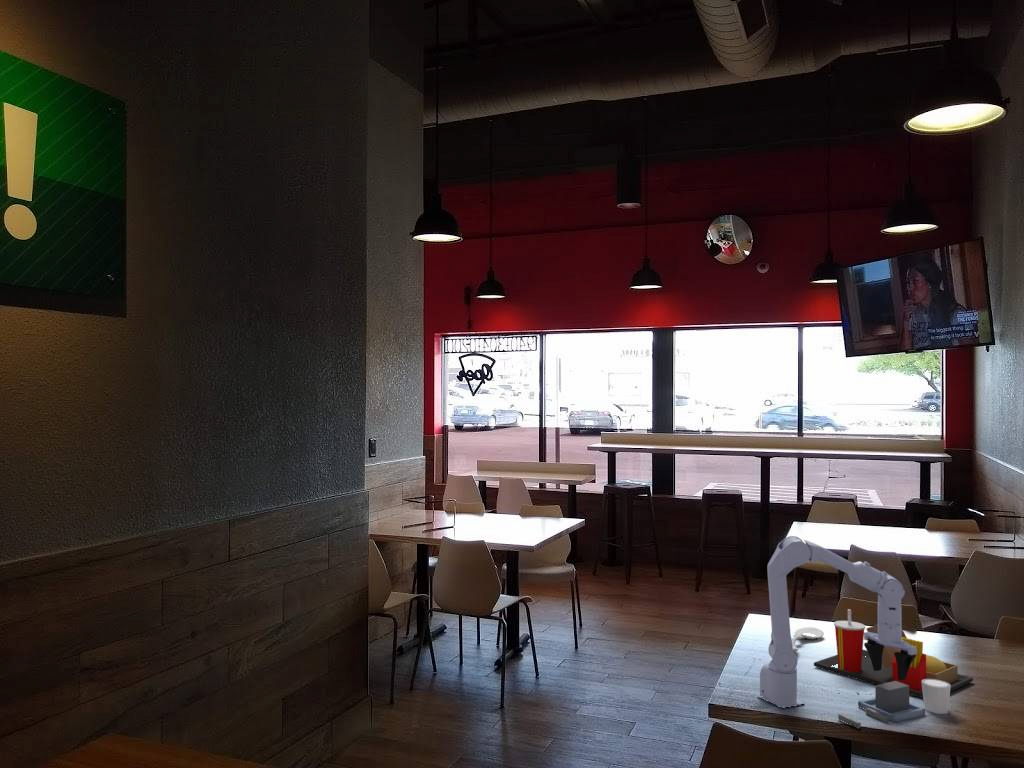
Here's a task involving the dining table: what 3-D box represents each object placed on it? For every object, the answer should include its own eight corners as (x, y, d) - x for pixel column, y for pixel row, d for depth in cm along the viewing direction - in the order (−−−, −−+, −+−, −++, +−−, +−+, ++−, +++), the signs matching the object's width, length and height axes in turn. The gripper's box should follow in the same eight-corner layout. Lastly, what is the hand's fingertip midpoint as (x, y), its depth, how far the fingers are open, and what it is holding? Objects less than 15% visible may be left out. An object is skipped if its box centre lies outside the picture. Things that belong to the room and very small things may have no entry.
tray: (858, 707, 207) (858, 701, 207) (889, 700, 212) (889, 695, 212) (893, 722, 197) (893, 716, 197) (925, 714, 202) (925, 709, 202)
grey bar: (875, 708, 205) (875, 685, 205) (895, 703, 208) (895, 680, 209) (889, 713, 201) (888, 690, 201) (909, 708, 205) (909, 685, 205)
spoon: (768, 653, 253) (768, 642, 253) (801, 632, 278) (801, 622, 278) (795, 659, 248) (795, 648, 248) (827, 637, 273) (827, 627, 273)
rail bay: (838, 720, 198) (838, 714, 198) (868, 713, 202) (868, 707, 203) (857, 729, 192) (857, 722, 193) (888, 722, 197) (888, 716, 197)
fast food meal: (932, 703, 211) (931, 634, 212) (813, 669, 239) (813, 608, 239) (972, 684, 227) (972, 620, 227) (857, 654, 254) (856, 596, 255)
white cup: (941, 704, 210) (941, 678, 210) (956, 714, 203) (956, 687, 203) (916, 704, 209) (916, 678, 210) (930, 714, 202) (930, 687, 203)
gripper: (924, 628, 201) (924, 681, 200) (877, 614, 214) (877, 664, 213) (905, 631, 198) (905, 685, 197) (858, 616, 211) (858, 667, 210)
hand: (889, 674), depth 205 cm, fingers open, 7 cm apart
